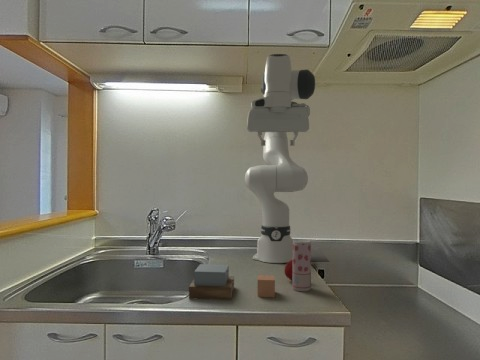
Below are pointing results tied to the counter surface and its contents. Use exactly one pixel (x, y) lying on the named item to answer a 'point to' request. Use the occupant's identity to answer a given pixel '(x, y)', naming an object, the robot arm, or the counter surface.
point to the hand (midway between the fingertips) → (277, 145)
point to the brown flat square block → (212, 291)
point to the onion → (289, 269)
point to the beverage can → (301, 265)
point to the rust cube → (266, 286)
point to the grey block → (211, 275)
